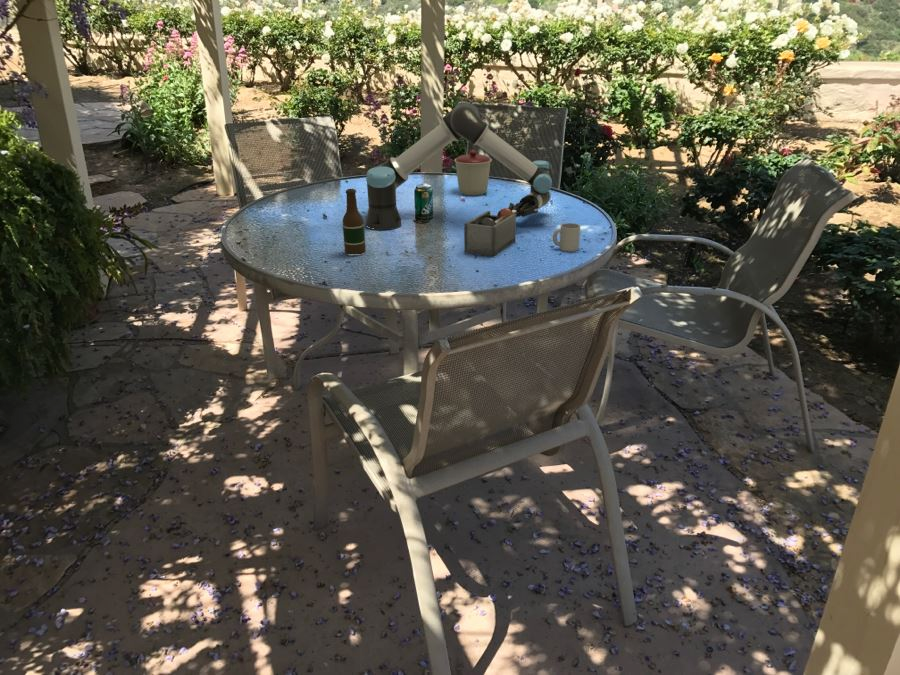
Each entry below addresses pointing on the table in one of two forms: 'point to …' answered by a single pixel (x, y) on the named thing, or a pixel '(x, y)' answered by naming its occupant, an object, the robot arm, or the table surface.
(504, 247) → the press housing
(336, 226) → the table surface
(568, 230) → the cup
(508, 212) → the plunger
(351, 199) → the beer bottle
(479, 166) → the canister
